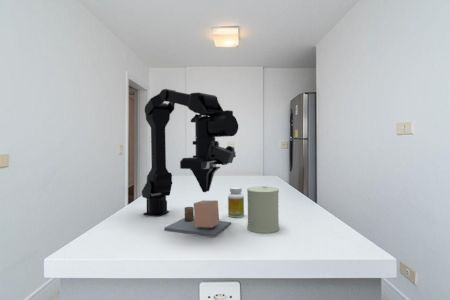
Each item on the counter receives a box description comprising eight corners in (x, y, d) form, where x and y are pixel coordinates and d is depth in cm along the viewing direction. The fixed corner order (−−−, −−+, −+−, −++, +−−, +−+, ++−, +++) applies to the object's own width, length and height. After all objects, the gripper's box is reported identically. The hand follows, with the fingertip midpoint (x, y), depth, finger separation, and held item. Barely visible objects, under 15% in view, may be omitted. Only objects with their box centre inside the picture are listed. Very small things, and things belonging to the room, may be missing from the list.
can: (281, 225, 80) (280, 185, 79) (276, 234, 71) (276, 190, 71) (251, 222, 83) (251, 184, 82) (243, 231, 74) (243, 189, 74)
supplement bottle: (242, 218, 87) (242, 189, 87) (226, 217, 88) (226, 188, 88) (244, 214, 93) (244, 186, 92) (229, 213, 94) (229, 186, 94)
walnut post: (182, 221, 82) (182, 208, 82) (187, 218, 84) (187, 206, 84) (190, 222, 81) (190, 209, 81) (195, 219, 83) (195, 207, 83)
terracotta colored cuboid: (195, 226, 74) (193, 203, 74) (203, 222, 79) (202, 200, 79) (211, 227, 72) (210, 203, 72) (219, 223, 77) (217, 200, 77)
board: (164, 230, 75) (164, 227, 75) (185, 219, 87) (185, 217, 87) (214, 237, 69) (214, 234, 69) (231, 224, 80) (231, 222, 80)
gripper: (217, 135, 64) (218, 199, 64) (242, 137, 81) (242, 188, 81) (178, 136, 68) (179, 196, 68) (209, 138, 85) (210, 186, 86)
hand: (205, 191), depth 76 cm, fingers closed
